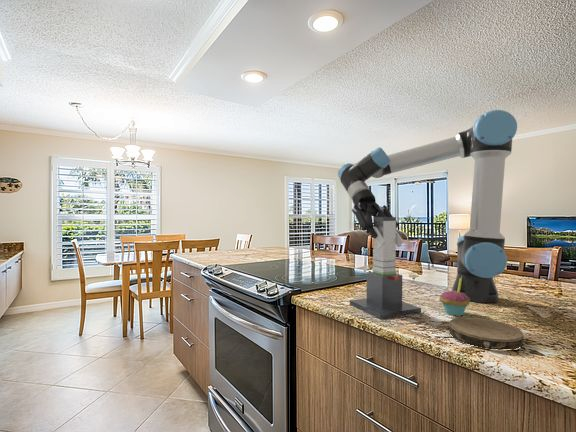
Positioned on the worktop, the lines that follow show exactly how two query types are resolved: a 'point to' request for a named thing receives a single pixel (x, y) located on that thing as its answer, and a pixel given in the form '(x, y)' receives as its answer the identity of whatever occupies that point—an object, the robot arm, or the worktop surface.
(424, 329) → the worktop surface
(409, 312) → the stand base
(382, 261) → the column
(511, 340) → the wooden slice coaster
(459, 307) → the cupcake
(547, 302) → the worktop surface
